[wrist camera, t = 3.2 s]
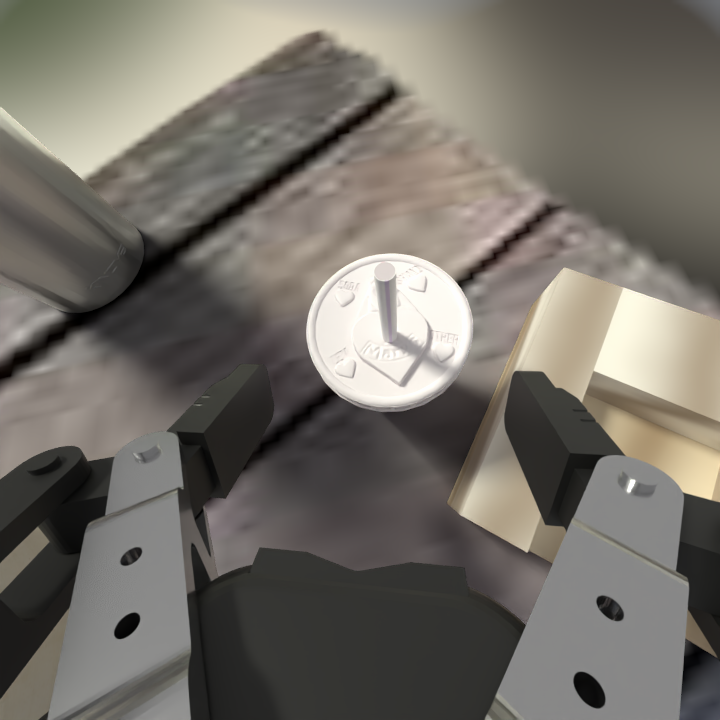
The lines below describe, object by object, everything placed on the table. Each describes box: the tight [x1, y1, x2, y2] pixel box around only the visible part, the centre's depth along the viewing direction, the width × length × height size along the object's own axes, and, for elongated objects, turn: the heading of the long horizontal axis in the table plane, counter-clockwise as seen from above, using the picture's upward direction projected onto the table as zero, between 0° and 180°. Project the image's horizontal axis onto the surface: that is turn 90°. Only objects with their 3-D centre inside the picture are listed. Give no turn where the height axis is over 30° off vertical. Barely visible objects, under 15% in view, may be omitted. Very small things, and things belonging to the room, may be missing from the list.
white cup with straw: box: [306, 254, 473, 412], centre depth 15 cm, size 6×6×14 cm
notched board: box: [447, 268, 720, 658], centre depth 16 cm, size 14×14×4 cm
